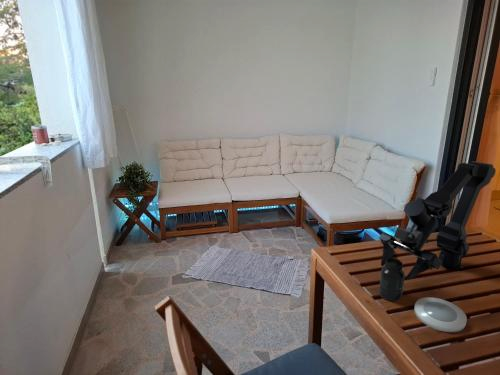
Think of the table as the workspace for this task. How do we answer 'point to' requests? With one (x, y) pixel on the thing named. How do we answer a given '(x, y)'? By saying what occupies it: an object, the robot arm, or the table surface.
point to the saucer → (440, 314)
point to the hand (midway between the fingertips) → (394, 272)
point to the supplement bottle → (392, 280)
